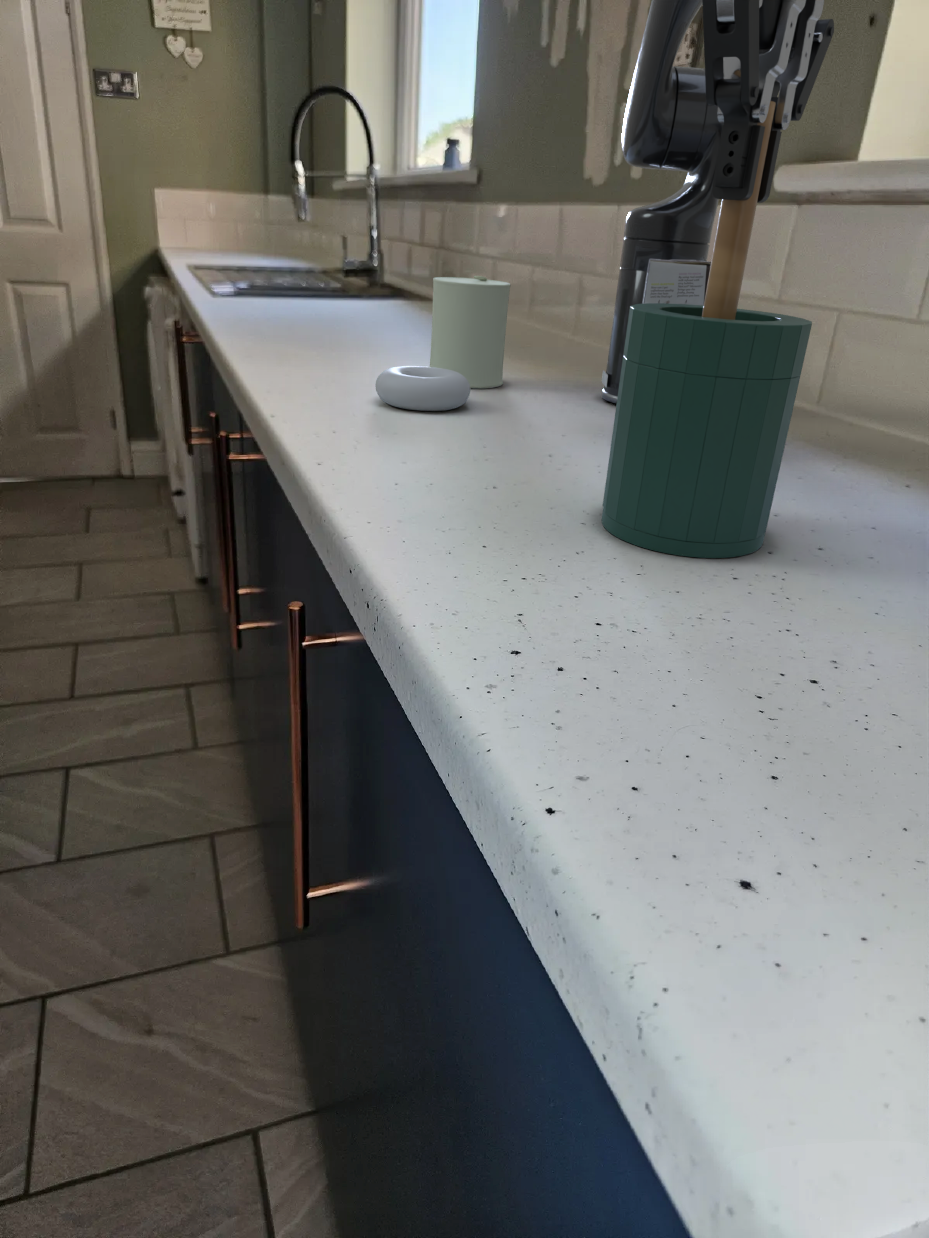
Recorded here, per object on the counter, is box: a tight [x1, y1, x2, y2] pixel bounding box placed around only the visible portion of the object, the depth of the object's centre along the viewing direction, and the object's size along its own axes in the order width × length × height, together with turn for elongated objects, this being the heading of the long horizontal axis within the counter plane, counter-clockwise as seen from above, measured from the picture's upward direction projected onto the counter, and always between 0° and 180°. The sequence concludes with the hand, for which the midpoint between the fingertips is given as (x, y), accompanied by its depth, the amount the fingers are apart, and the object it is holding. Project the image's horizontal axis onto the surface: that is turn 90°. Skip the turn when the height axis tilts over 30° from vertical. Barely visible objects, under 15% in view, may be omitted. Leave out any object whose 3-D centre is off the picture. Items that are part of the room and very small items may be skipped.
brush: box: [702, 101, 776, 320], centre depth 53 cm, size 5×5×20 cm
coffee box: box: [642, 259, 711, 306], centre depth 81 cm, size 9×6×16 cm
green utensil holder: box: [601, 303, 813, 559], centre depth 56 cm, size 11×11×14 cm
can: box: [429, 275, 512, 389], centre depth 104 cm, size 9×9×12 cm
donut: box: [375, 365, 471, 412], centre depth 91 cm, size 10×4×10 cm
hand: (739, 199), depth 51 cm, fingers closed on brush
